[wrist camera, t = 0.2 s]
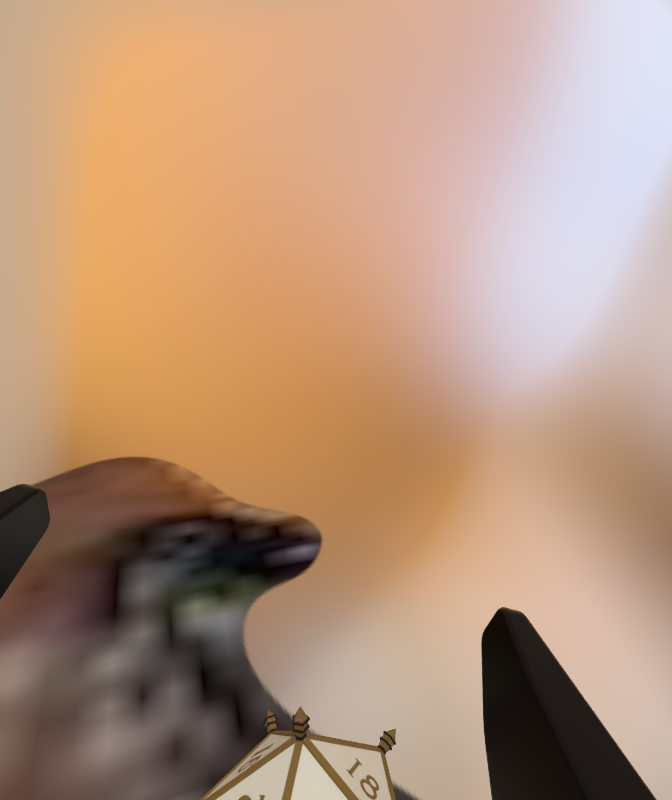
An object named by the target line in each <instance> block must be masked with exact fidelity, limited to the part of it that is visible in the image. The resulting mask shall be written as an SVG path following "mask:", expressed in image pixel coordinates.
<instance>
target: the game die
mask: <svg viewBox="0 0 672 800" xmlns="http://www.w3.org/2000/svg"><path fill="white" fill-rule="evenodd" d="M309 720H310V718H309V717H308V716H307V715H306V714H305V713H304V711H303V710H302V708H301V707H300V708H299V709H298V711H297V713H296V714H295V715H293V731H278V730H277V727H278V723H277V717H276V715H275V714H273V713H271V712H270V711H269V710H268V713H267V716H266V719H265V721H264V722H263V724H265V726H266V727H265V730H267V731H268V733H269V735H268V736H267V737H265V738H264V739H263V740H262V741H261V742H260V743H259V744H258V745H257V746H256V747H255V748H254V749H253V750H252V751H251V752H250V753H249V754H248V755H247V756H246V757H244V758H243V759H242V760H241V761H240V762H239V763H238V764H237V765H236V766H235V767H234V768H233V769H232V770H231V771H230V772H229V773H228V774H227V775H226V776H225V777H224V778H222V779H221V780H220V781H219V782H218V783H217V784H216V785H215V786H214V787H213V788H212V789H211V790H210V791H209V792H208V793H207V794H206V795H205V796H204V797H203V798H202V799H200V800H396V798H395V794H394V790H393V786H392V782H391V778H390V774H389V770H388V766H387V761H386V758H385V754H386V752H387V751H388V750H392V748H391V747H392V746H393V745H395V744H396V743H395V731H396V729H393V730H390V731H387V732H385V731H384V735H383V736H382V737H380V743H379V745H378V746H372V745H367V744H361V743H356V742H351V741H346V740H341V739H336V738H331V737H325V736H320V735H315V734H310V733H306V732H307V729H308V728H309V724H308V721H309Z"/></svg>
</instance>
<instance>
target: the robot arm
mask: <svg viewBox="0 0 672 800" xmlns="http://www.w3.org/2000/svg"><path fill="white" fill-rule="evenodd" d="M49 520H50V516H49V510H48V503H47V497H46V492H45V491H44V490H43V489H42V488H39V487H35V486H31V485H27V484H20V485H16V486H14V487H11V488H9V489H6V490H4V491H1V492H0V599H1V597H2V596H3V594H4V593H5V591H6V590H7V588H8V587H9V585H10V584H11V582H12V581H13V579H14V578H15V576H16V575H17V573H18V572H19V571H20V569H21V568H22V566H23V565H24V563H25V562H26V560H27V559H28V557H29V556H30V554H31V553H32V551H33V550H34V548H35V547H36V545H37V544H38V542H39V541H40V539H41V538H42V536H43V535H44V533H45V531H46V530H47V528H48V525H49ZM481 645H482V684H483V720H484V735H485V745H486V753H487V762H488V770H489V778H490V786H491V794H492V800H656V798H655V797H654V796H653V794H652V793H651V791H650V790H649V789H648V787H647V786H646V784H645V783H644V782H643V780H642V779H641V777H640V776H639V775H638V773H637V772H636V770H635V769H634V767H633V766H632V765H631V763H630V762H629V761H628V759H627V758H626V756H625V755H624V753H623V752H622V751H621V749H620V748H619V747H618V745H617V744H616V742H615V741H614V739H613V738H612V737H611V735H610V734H609V732H608V731H607V730H606V728H605V727H604V726H603V724H602V723H601V721H600V720H599V718H598V717H597V716H596V714H595V713H594V711H593V710H592V708H591V707H590V706H589V704H588V703H587V701H586V700H585V699H584V697H583V696H582V694H581V693H580V692H579V690H578V689H577V687H576V686H575V685H574V683H573V682H572V680H571V679H570V678H569V676H568V675H567V673H566V672H565V671H564V669H563V668H562V666H561V665H560V664H559V662H558V661H557V659H556V658H555V656H554V655H553V654H552V652H551V651H550V649H549V648H548V647H547V645H546V644H545V642H544V641H543V640H542V638H541V637H540V635H539V634H538V633H537V631H536V630H535V628H534V627H533V626H532V624H531V623H530V621H529V620H528V619H527V617H526V616H525V615H524V614H523V613H522V612H519V611H517V610H512V609H509V608H505V607H502V608H500V609H498V610H497V612H496V613H495V615H494V616H493V618H492V619H491V621H490V622H489V624H488V625H487V627H486V628H485V630H484V632H483V635H482V644H481Z"/></svg>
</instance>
